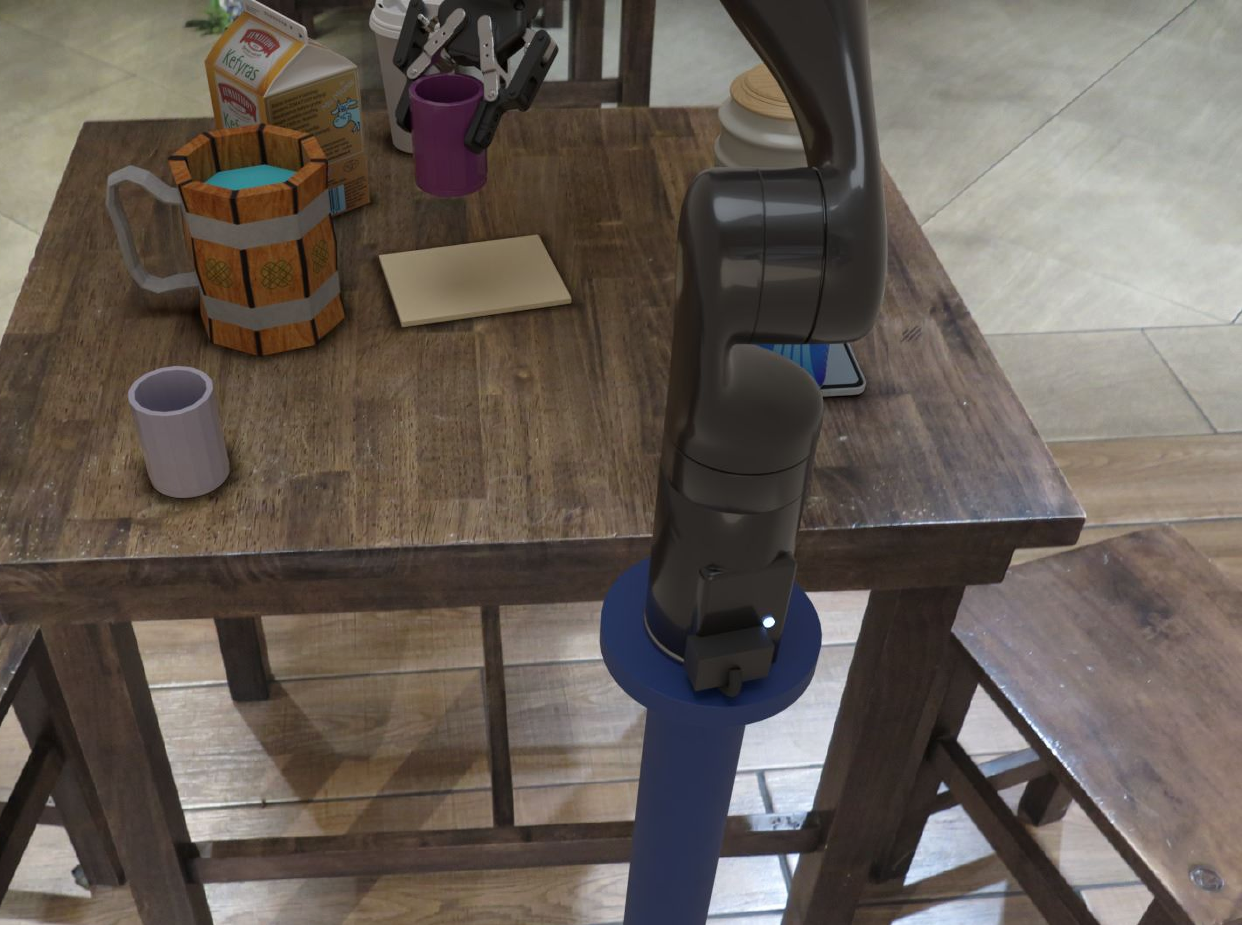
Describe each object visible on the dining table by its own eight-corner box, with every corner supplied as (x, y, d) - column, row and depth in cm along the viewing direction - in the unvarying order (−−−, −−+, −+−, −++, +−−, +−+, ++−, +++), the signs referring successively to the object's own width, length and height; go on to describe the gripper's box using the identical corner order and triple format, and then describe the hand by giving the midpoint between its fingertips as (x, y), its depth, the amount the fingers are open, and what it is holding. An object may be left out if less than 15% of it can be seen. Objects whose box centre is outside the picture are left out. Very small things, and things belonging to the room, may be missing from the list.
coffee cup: (383, 121, 144) (373, -17, 134) (467, 122, 144) (463, -16, 133) (374, 160, 137) (362, 18, 127) (462, 161, 137) (457, 19, 127)
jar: (825, 199, 131) (858, 26, 119) (844, 265, 122) (881, 85, 110) (700, 197, 131) (719, 24, 119) (709, 263, 122) (731, 82, 110)
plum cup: (494, 192, 107) (492, 100, 102) (422, 201, 106) (417, 109, 101) (478, 159, 112) (475, 69, 106) (409, 167, 111) (402, 77, 105)
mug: (355, 276, 121) (339, 124, 110) (335, 358, 111) (316, 200, 100) (151, 272, 121) (116, 120, 111) (114, 353, 112) (71, 196, 101)
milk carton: (228, 197, 132) (195, 9, 118) (312, 166, 136) (290, -18, 123) (283, 236, 126) (255, 43, 112) (370, 202, 131) (352, 14, 117)
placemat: (571, 303, 117) (571, 298, 117) (401, 327, 114) (401, 322, 114) (538, 239, 125) (538, 234, 125) (379, 260, 123) (378, 255, 122)
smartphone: (783, 392, 106) (746, 292, 116) (781, 401, 107) (745, 301, 117) (869, 388, 107) (825, 288, 117) (867, 397, 107) (823, 297, 118)
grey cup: (233, 491, 98) (215, 408, 93) (152, 504, 97) (129, 421, 92) (226, 442, 103) (209, 360, 97) (148, 454, 102) (126, 372, 96)
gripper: (422, -97, 103) (346, 100, 104) (574, -63, 97) (491, 144, 99) (462, -47, 110) (390, 136, 111) (605, -13, 104) (527, 179, 106)
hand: (437, 139), depth 105 cm, fingers closed on plum cup, 6 cm apart
